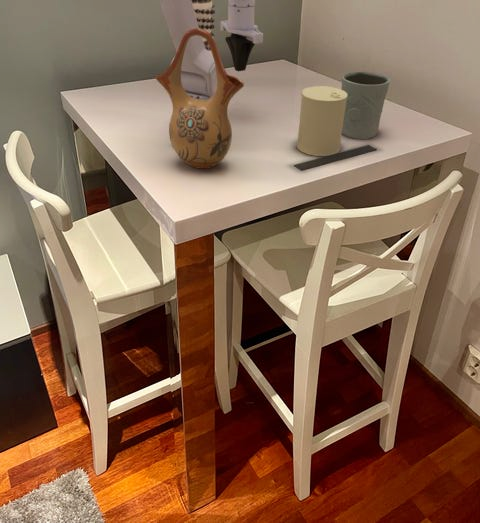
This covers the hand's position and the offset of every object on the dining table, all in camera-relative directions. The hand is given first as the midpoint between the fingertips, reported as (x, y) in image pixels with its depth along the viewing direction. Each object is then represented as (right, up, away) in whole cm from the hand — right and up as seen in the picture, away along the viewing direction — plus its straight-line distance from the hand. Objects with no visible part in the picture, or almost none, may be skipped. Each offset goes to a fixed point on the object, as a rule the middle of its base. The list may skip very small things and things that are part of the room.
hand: (240, 70), depth 119 cm
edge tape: (+20, -23, -13) cm, 33 cm away
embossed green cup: (+27, -15, -1) cm, 30 cm away
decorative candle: (-11, +6, +26) cm, 29 cm away
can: (+17, -20, -9) cm, 27 cm away
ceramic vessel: (-8, -25, -17) cm, 31 cm away
